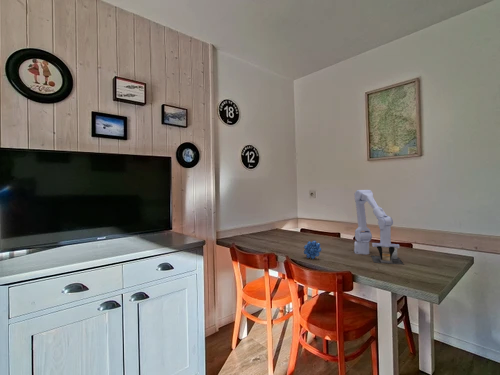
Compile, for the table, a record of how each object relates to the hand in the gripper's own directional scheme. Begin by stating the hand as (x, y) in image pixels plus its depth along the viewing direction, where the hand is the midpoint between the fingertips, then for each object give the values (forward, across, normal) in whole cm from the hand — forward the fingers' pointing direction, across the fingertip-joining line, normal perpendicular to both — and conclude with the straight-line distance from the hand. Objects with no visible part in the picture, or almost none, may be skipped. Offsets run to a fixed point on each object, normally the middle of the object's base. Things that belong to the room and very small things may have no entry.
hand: (385, 259), depth 159 cm
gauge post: (+1, +6, +8) cm, 10 cm away
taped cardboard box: (+1, 0, 0) cm, 1 cm away
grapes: (+2, -43, -2) cm, 43 cm away
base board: (+2, +1, +3) cm, 4 cm away
